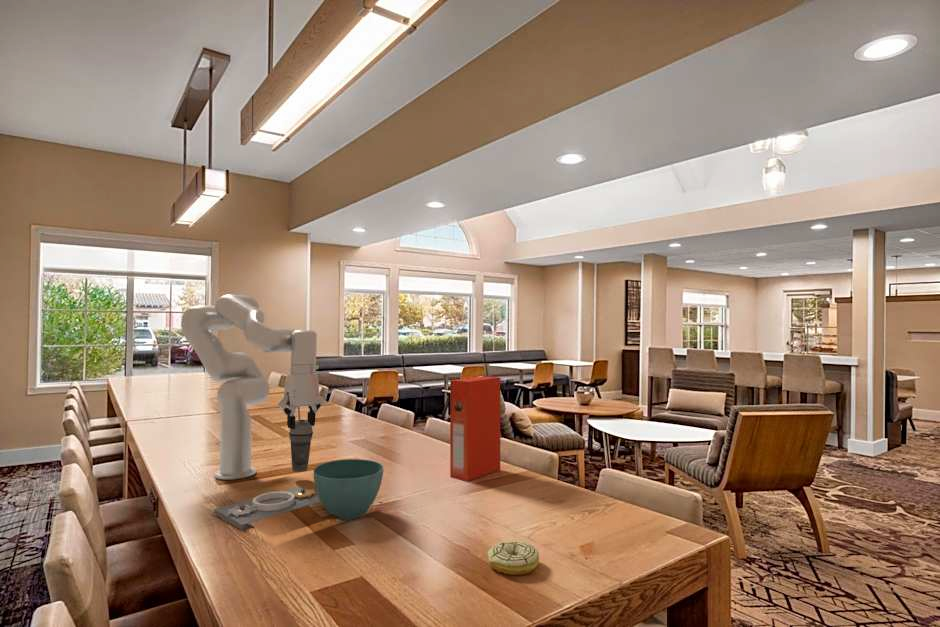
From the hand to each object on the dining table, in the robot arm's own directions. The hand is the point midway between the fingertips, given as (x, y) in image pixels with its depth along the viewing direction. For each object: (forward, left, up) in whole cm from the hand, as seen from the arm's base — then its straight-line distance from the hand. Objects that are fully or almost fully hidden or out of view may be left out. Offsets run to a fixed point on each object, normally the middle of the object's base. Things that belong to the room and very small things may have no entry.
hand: (301, 426), depth 164 cm
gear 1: (+14, -25, -17) cm, 33 cm away
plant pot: (+32, -5, -18) cm, 37 cm away
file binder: (+33, +46, -18) cm, 60 cm away
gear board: (+14, -16, -18) cm, 28 cm away
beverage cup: (0, 0, -14) cm, 14 cm away
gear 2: (+14, -7, -17) cm, 23 cm away
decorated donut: (+82, +1, -19) cm, 84 cm away
